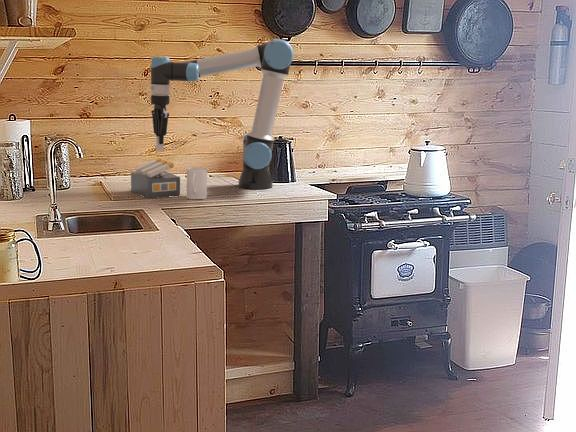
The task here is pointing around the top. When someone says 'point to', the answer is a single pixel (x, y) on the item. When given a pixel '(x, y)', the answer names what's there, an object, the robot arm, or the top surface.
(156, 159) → the rocker
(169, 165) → the rocker
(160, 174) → the control box
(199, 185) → the mug
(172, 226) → the top surface
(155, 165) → the rocker
